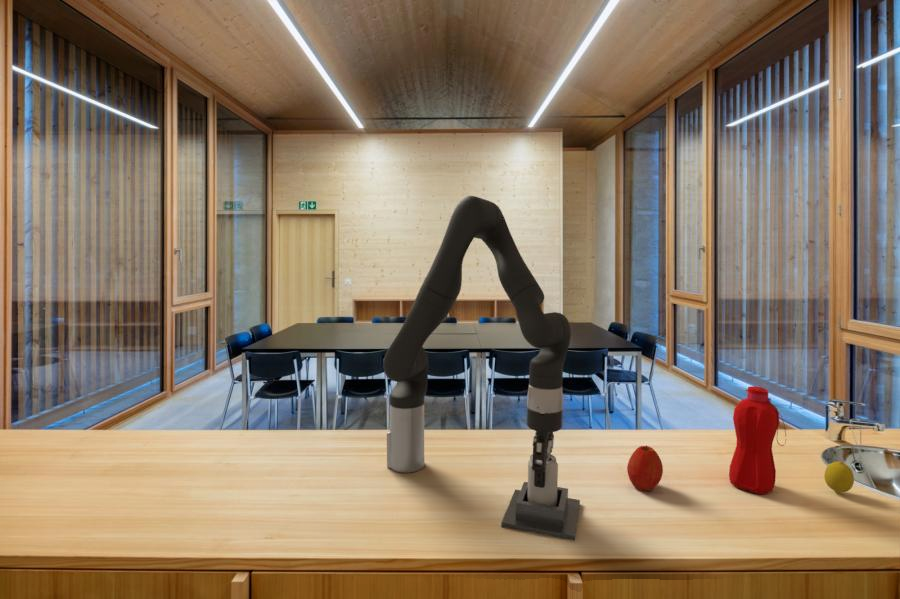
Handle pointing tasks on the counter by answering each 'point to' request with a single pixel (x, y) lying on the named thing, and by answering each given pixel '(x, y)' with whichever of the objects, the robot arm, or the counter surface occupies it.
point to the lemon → (839, 477)
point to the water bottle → (754, 442)
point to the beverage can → (551, 478)
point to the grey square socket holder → (543, 515)
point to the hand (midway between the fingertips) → (542, 477)
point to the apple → (645, 468)
